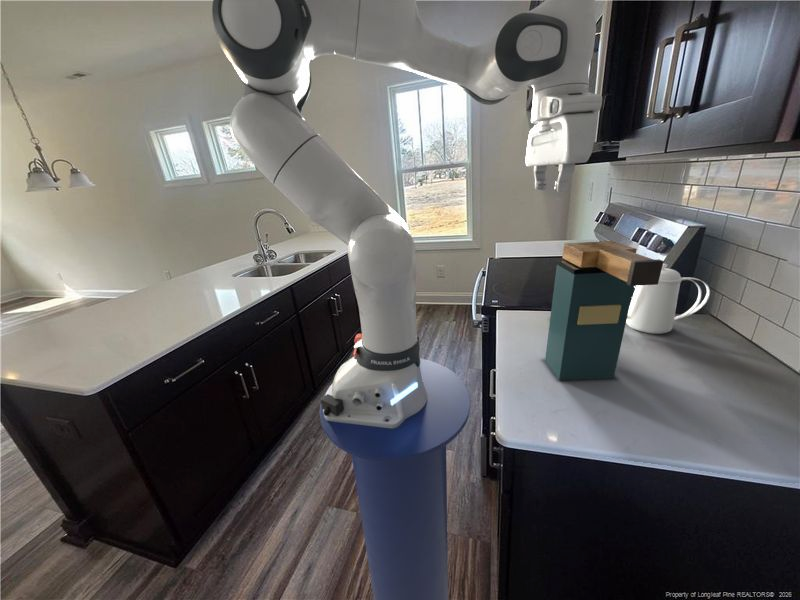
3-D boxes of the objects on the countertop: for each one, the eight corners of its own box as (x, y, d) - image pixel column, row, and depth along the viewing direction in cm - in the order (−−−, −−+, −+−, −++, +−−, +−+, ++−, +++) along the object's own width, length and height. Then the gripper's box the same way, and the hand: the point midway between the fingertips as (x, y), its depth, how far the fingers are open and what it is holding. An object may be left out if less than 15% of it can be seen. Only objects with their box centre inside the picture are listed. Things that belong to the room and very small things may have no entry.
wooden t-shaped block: (612, 286, 52) (617, 263, 50) (561, 259, 69) (564, 241, 68) (675, 283, 51) (682, 259, 50) (608, 256, 69) (612, 238, 67)
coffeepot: (591, 316, 100) (601, 258, 93) (686, 321, 93) (705, 259, 86) (602, 331, 90) (614, 268, 84) (709, 338, 84) (732, 270, 77)
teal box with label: (558, 381, 71) (574, 269, 61) (543, 360, 79) (555, 258, 69) (616, 379, 70) (642, 266, 61) (594, 358, 78) (614, 255, 69)
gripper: (520, 120, 67) (516, 189, 72) (566, 97, 48) (556, 194, 53) (551, 118, 66) (544, 187, 71) (609, 94, 47) (594, 191, 52)
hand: (549, 190), depth 62 cm, fingers open, 8 cm apart
